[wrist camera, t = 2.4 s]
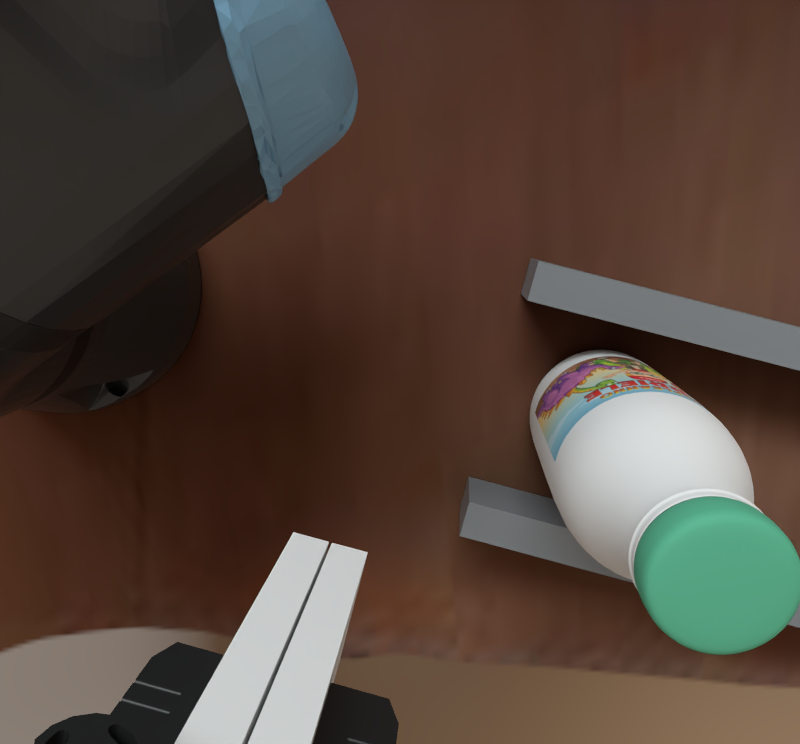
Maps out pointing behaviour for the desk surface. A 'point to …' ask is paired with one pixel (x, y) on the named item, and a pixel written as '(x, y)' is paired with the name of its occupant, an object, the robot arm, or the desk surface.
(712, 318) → the bottle rest
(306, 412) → the desk surface
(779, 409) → the desk surface
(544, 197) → the desk surface
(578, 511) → the milk bottle
